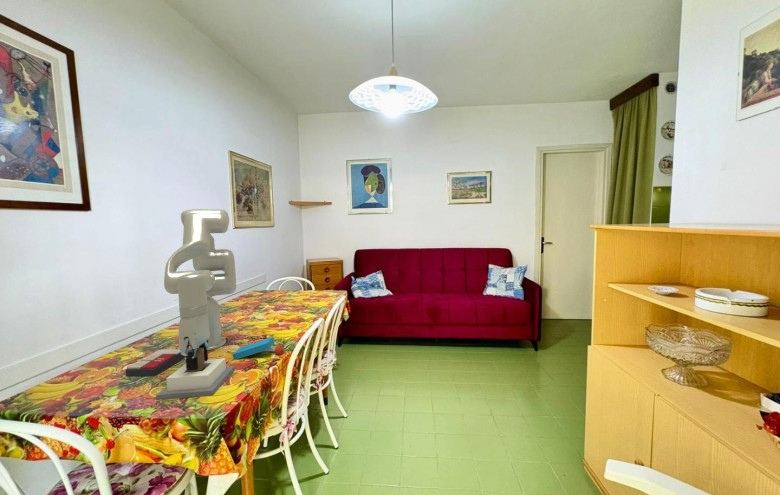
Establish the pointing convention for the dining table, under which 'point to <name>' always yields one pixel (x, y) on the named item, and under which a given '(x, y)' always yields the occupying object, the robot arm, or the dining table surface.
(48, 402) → the dining table surface
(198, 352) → the walnut peg
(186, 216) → the robot arm
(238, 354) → the lever
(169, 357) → the black red box
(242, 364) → the dining table surface
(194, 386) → the socket block
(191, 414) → the dining table surface
